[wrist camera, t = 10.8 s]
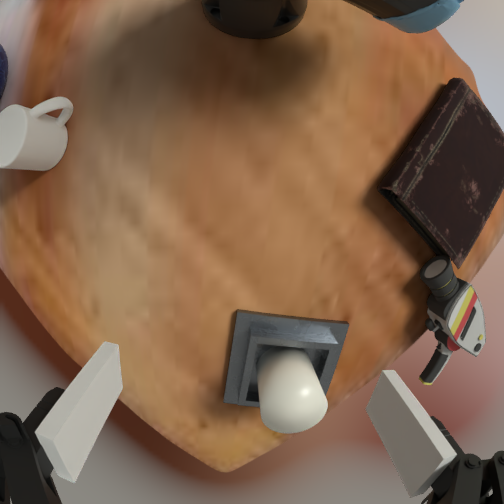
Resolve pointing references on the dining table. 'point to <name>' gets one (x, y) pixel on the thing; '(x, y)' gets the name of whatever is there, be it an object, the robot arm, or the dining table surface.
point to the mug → (34, 135)
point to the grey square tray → (279, 334)
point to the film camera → (450, 315)
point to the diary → (450, 173)
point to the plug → (289, 390)
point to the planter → (3, 69)
